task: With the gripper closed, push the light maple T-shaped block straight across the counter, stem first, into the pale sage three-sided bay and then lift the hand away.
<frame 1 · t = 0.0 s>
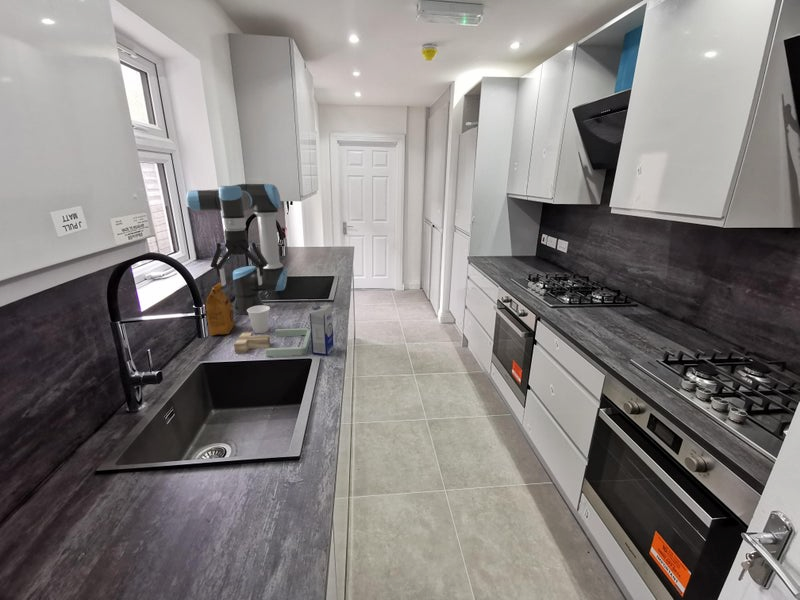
hand: (242, 284, 138), 28 cm above the worktop, tool pointing down, fingers open, 13 cm apart
milk carton: (323, 352, 147), on the worktop
t block: (254, 346, 150), on the worktop
cup: (261, 331, 165), on the worktop
coffee package: (223, 331, 165), on the worktop
dock bay: (288, 344, 152), on the worktop
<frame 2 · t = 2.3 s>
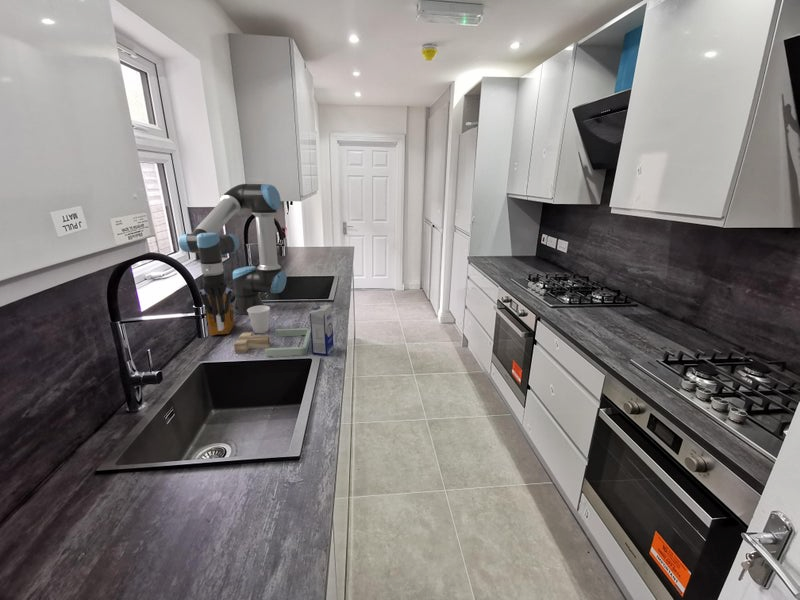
hand: (221, 329, 146), 8 cm above the worktop, tool pointing down, fingers closed
nothing on the worktop moved.
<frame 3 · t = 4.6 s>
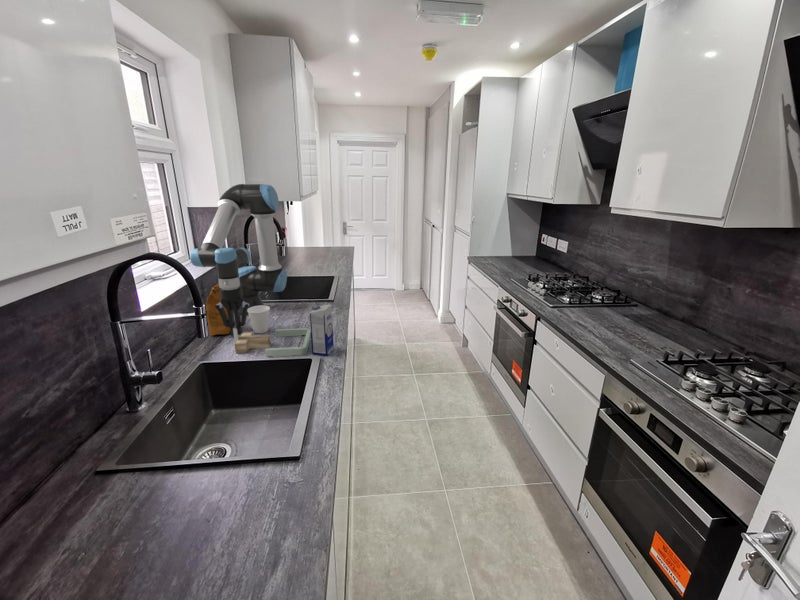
hand: (237, 341, 149), 2 cm above the worktop, tool pointing down, fingers closed
t block: (255, 346, 150), on the worktop, touching gripper
everything else where it was.
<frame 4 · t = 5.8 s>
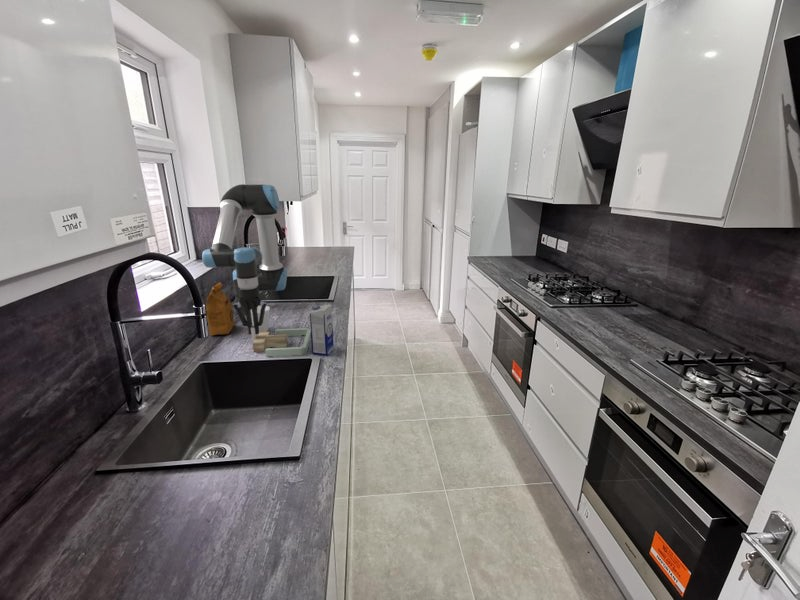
hand: (255, 340, 150), 3 cm above the worktop, tool pointing down, fingers closed
t block: (272, 345, 151), on the worktop, touching gripper
everything else where it was.
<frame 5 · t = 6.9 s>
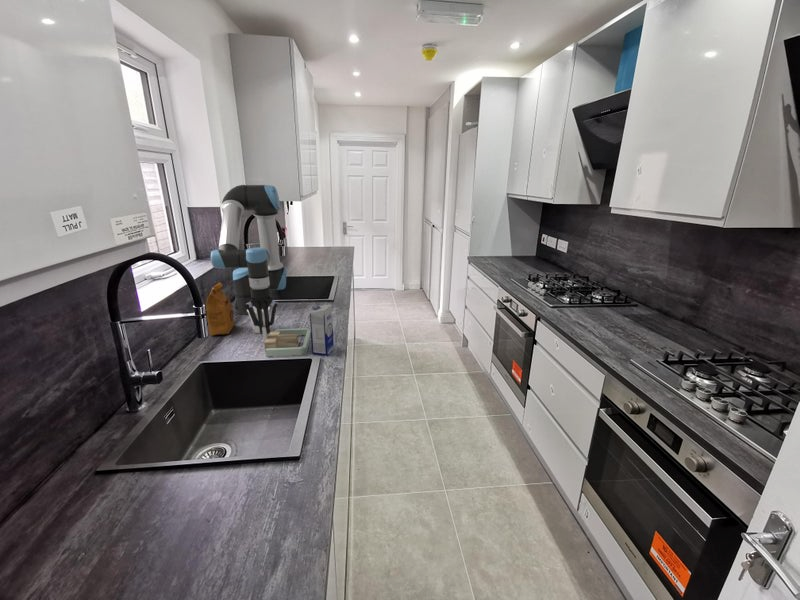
hand: (266, 340, 150), 2 cm above the worktop, tool pointing down, fingers closed
t block: (283, 345, 152), on the worktop, touching gripper
everything else where it was.
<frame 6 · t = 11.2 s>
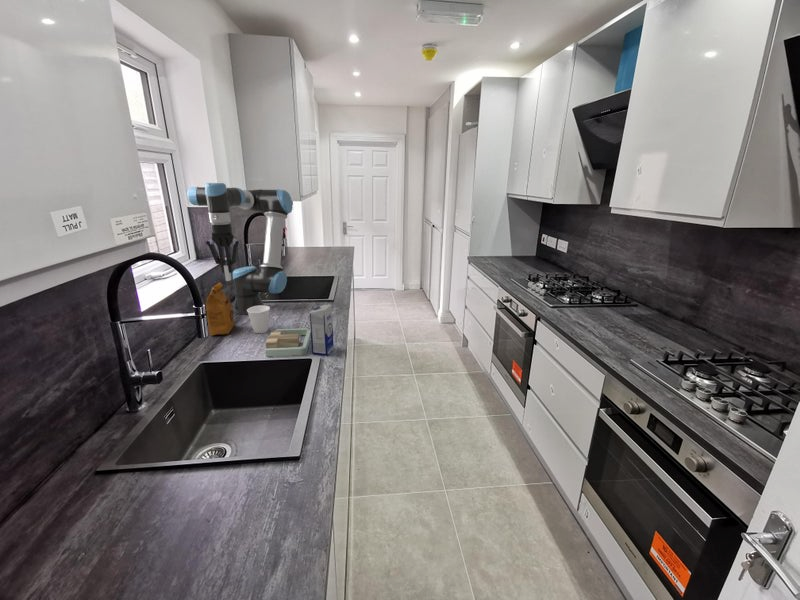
hand: (228, 280, 150), 26 cm above the worktop, tool pointing down, fingers closed
t block: (284, 345, 152), on the worktop
everything else where it was.
at the end: t block 1.6 cm off-centre on the dock bay, point 0.0 cm above the dock bay's base; t block tilted 0°; the gripper is holding nothing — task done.
